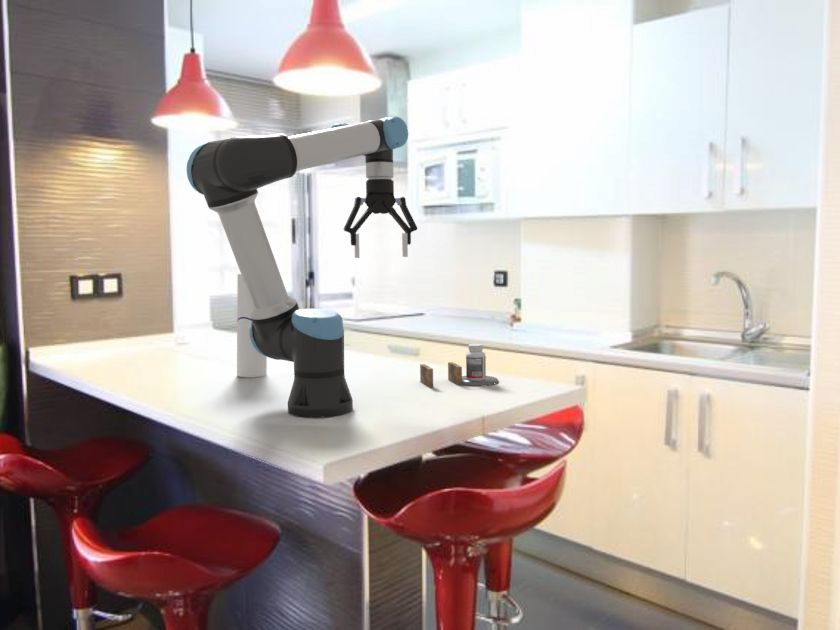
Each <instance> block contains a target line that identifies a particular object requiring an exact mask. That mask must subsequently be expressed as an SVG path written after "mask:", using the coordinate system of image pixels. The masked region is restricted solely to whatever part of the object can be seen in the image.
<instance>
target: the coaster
mask: <svg viewBox="0 0 840 630" xmlns="http://www.w3.org/2000/svg"><path fill="white" fill-rule="evenodd" d="M497 382H499V379H498V378H497V377H495V376H490V375H486V379H485V380H482V381H470V380H467V378H466V375H462V385H461V386H465V385H467V387H483V386H482V385H487V386H490V385H489V384H493V385H495V384H494V383H496V384H498V383H497Z"/></svg>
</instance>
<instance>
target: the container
mask: <svg viewBox="0 0 840 630" xmlns="http://www.w3.org/2000/svg"><path fill="white" fill-rule="evenodd" d="M236 281H237V286H236V287H237V289H236V291H237V292H236V293H237V295H236V296H237V297H236V299H237V300H236V301H237V302H236V303H237V307H236V310H237V311H236V317H237V318H236V319H237V321H236V323H237V325H236V327H237V329H236V337H237V338H236V376H237V377H241V378H260V377H265V376H267V374H268V373H267V369H268V366H267V363H268V362H267V361H268V359H267V358H268V357H267V356H264V355H262V354H261V353H259V352H258V351H257V350H256V349H255V348H254V346H253V344H252V342H251V340H250V334H249V333H250V328H251V323H252V320H251V317H250V314H251V312H252V310H253V308H254V307H253V304H252V301H251V299H250V296H249V293H248V291H247V288H246V286H245V283H244V280H243V278H242V275H241V272H239V273H237V280H236Z"/></svg>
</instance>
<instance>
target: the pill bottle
mask: <svg viewBox="0 0 840 630" xmlns="http://www.w3.org/2000/svg"><path fill="white" fill-rule="evenodd" d="M467 348H468V350H469V351H468V352H467V353H466V354H465V359H466V360H465V362H466V365H465V369H466V373H465V374H466V375H465V376H466V378H467V380H470V381H482V380H485V379H486V376H487V373H486V370H487V369H486V364H487V363H486V361H487V360H486V359H487V357H486V353H485V351H484V344H483V343H469V344H468V347H467Z"/></svg>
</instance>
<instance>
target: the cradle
mask: <svg viewBox="0 0 840 630" xmlns="http://www.w3.org/2000/svg"><path fill="white" fill-rule="evenodd" d="M419 365H420V366H419V372H420V373H419V375H420V377H419V379H420V381H419V382H420V383H422V384H423V385H424V386H426V387H427V388H429V389H430V388H431V389H432V388H434V369H433V367H430V366H429V365H427V364H426V363H421V364H419ZM447 374H448V375H447V377H448V379H447V380H448V381H449V382H451V383H453V384H455V385H456V386H463V385H462V376H463V368H462V366H460V365H459V364H457V363H454V362H453V361H451V362H450V361H449V362H447Z"/></svg>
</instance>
